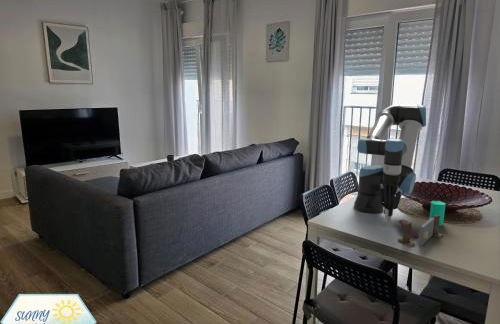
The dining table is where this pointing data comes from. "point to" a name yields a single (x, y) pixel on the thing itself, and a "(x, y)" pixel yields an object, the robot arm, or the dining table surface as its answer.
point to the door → (426, 231)
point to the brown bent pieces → (407, 232)
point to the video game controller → (413, 232)
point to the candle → (437, 210)
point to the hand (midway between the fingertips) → (387, 221)
